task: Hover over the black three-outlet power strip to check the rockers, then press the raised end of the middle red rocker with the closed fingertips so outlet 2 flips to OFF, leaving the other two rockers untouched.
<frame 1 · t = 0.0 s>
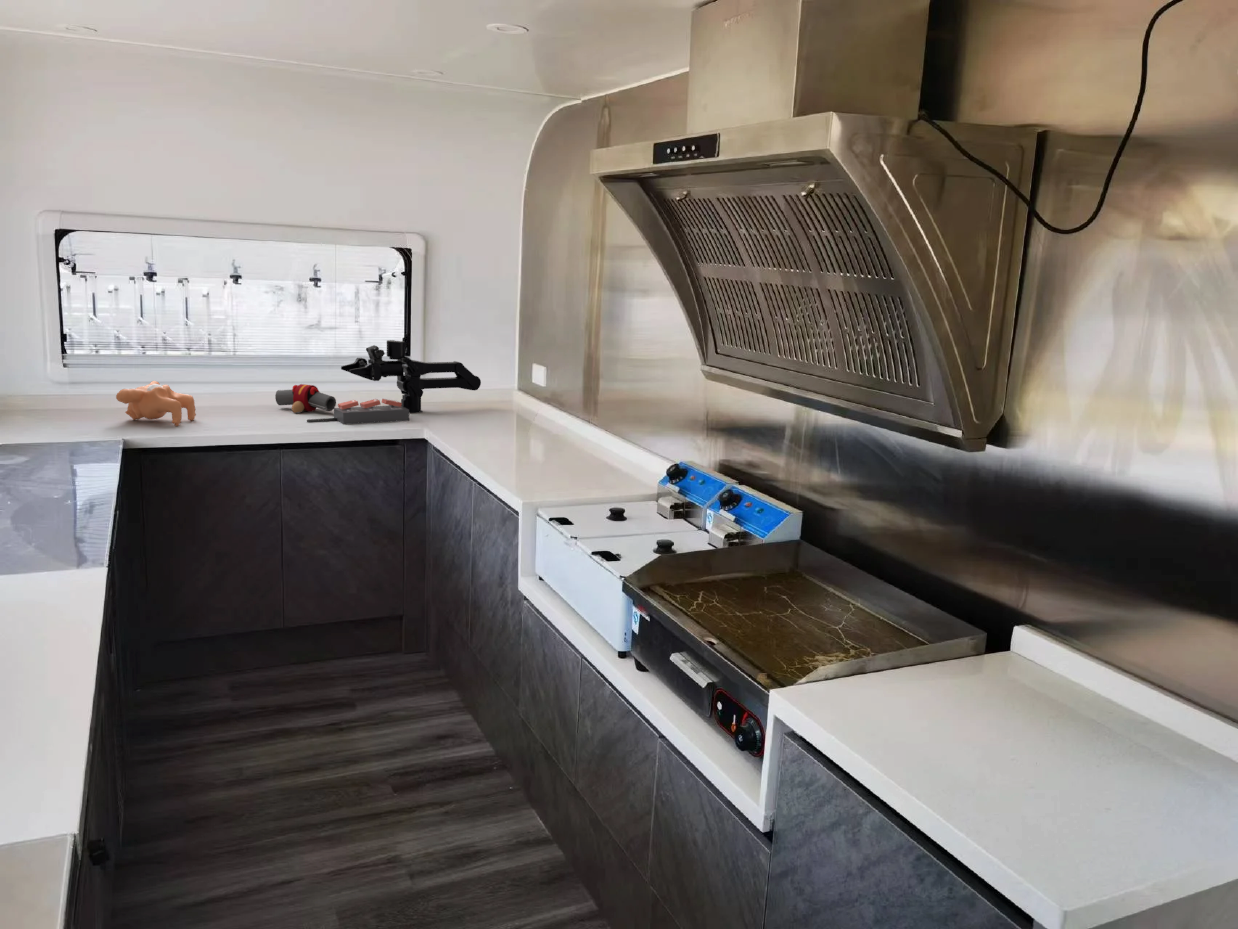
hand: (345, 369, 347), 17 cm above the countertop, tool horizontal, fingers open, 9 cm apart
figurine: (158, 422, 320), on the countertop
toy: (306, 411, 354), on the countertop
rocker 3: (348, 404, 340), point 6 cm above the countertop, hinge at 12.0°
rocker 2: (370, 403, 344), point 6 cm above the countertop, hinge at 12.0°
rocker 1: (391, 402, 349), point 6 cm above the countertop, hinge at -12.0°
power strip: (371, 419, 344), on the countertop
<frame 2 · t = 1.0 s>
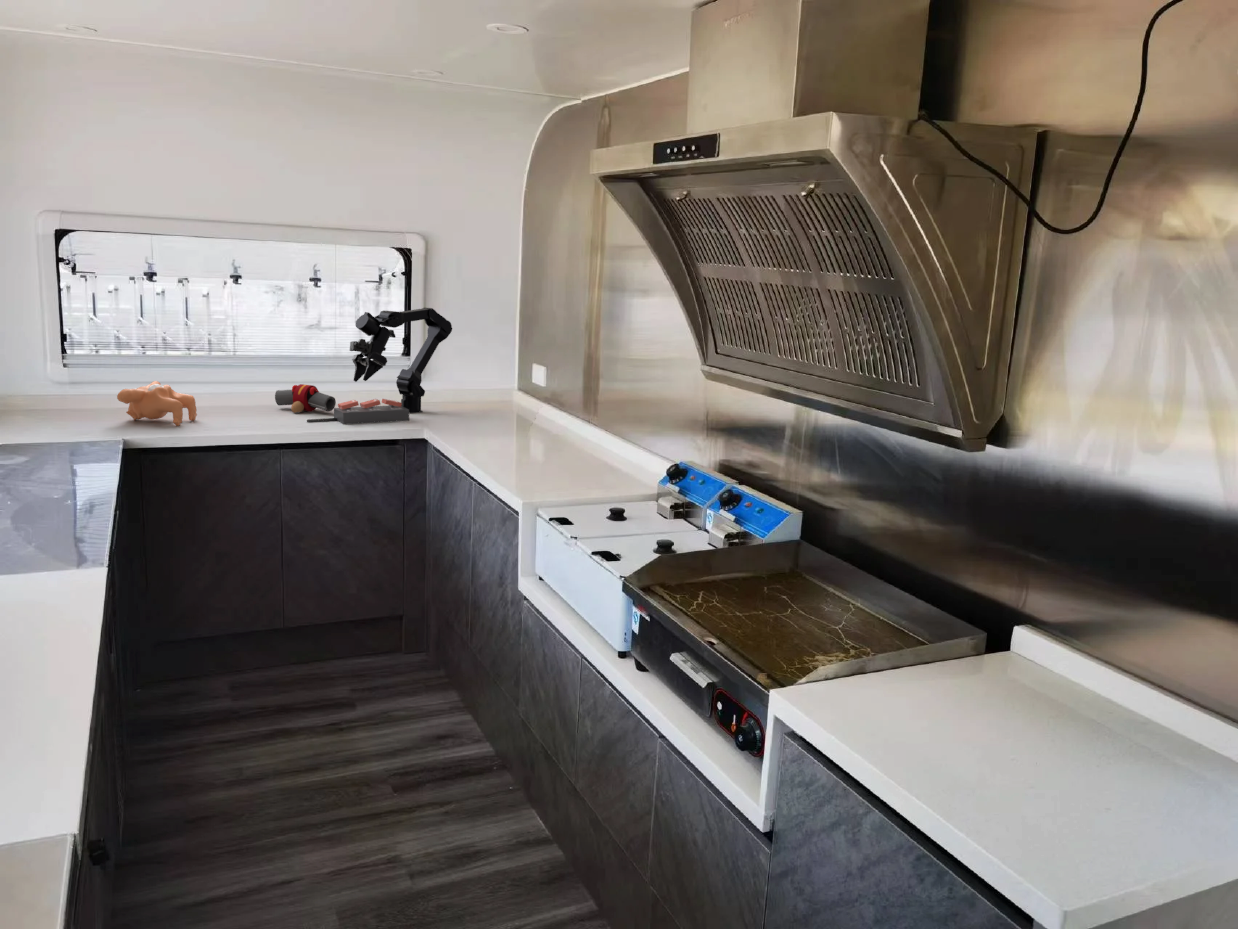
hand: (359, 380, 343), 13 cm above the countertop, tool tilted 30°, fingers open, 9 cm apart
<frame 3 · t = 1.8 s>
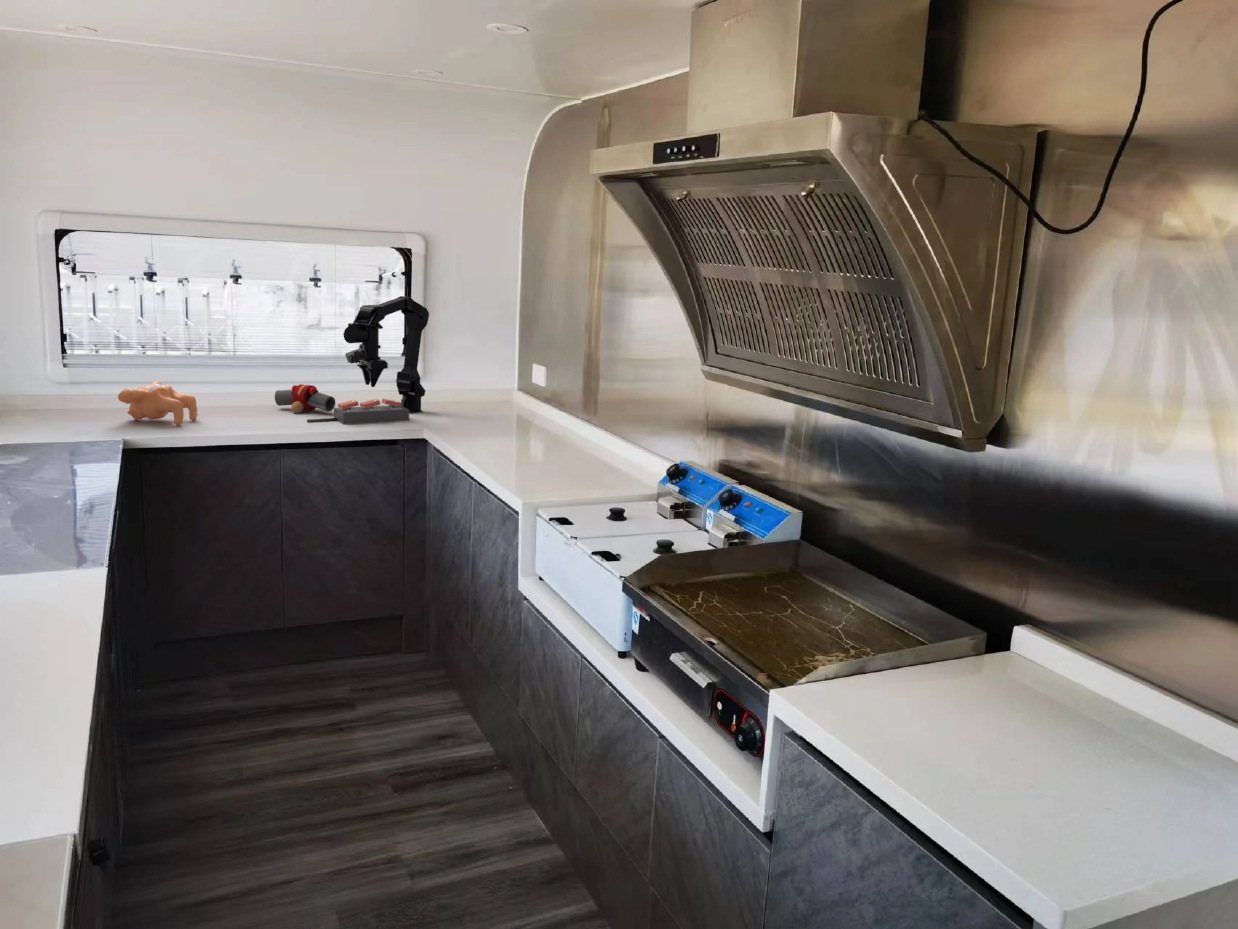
hand: (370, 385, 343), 12 cm above the countertop, tool pointing down, fingers open, 5 cm apart
nothing on the countertop moved.
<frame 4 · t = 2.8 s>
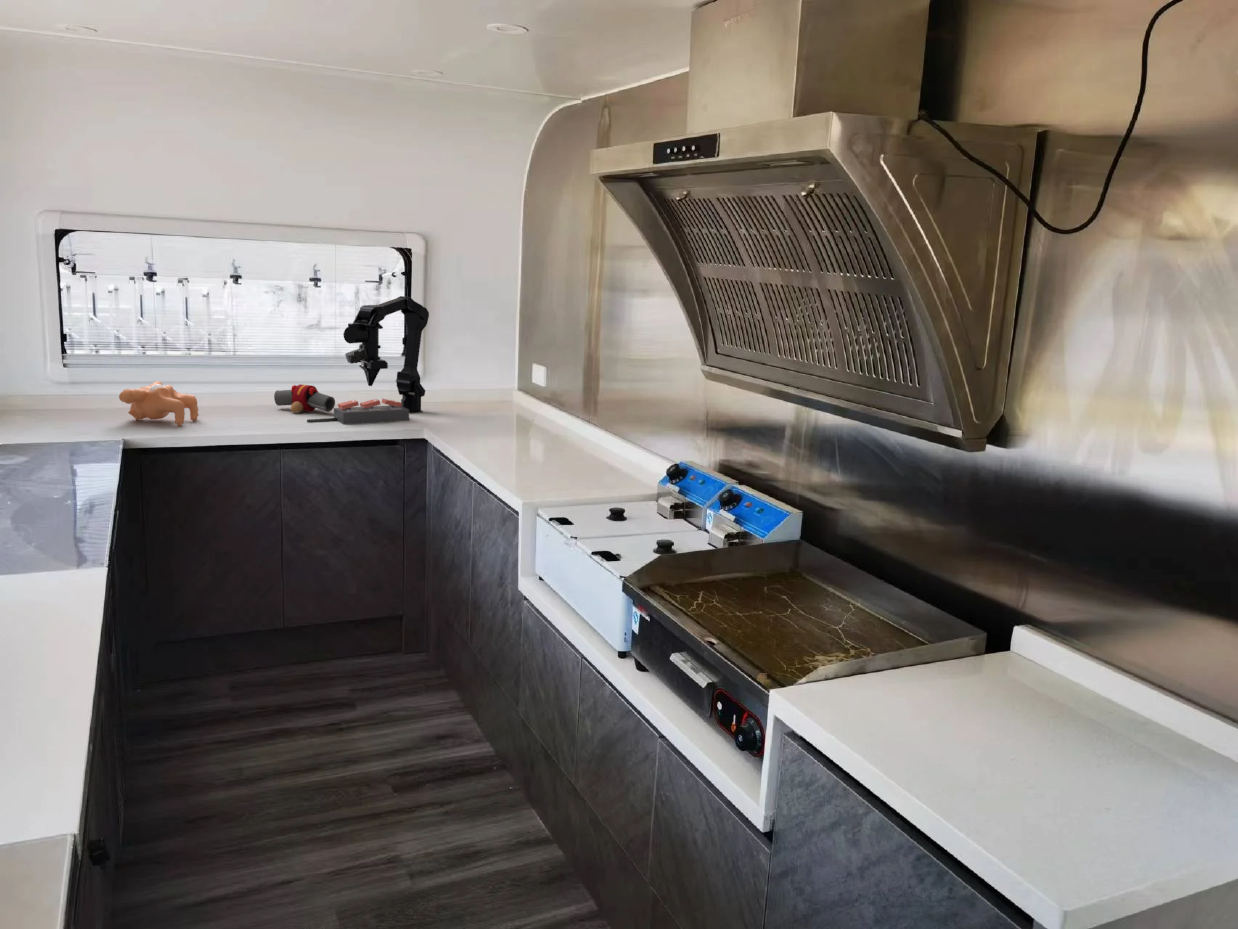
hand: (370, 385, 343), 12 cm above the countertop, tool pointing down, fingers closed
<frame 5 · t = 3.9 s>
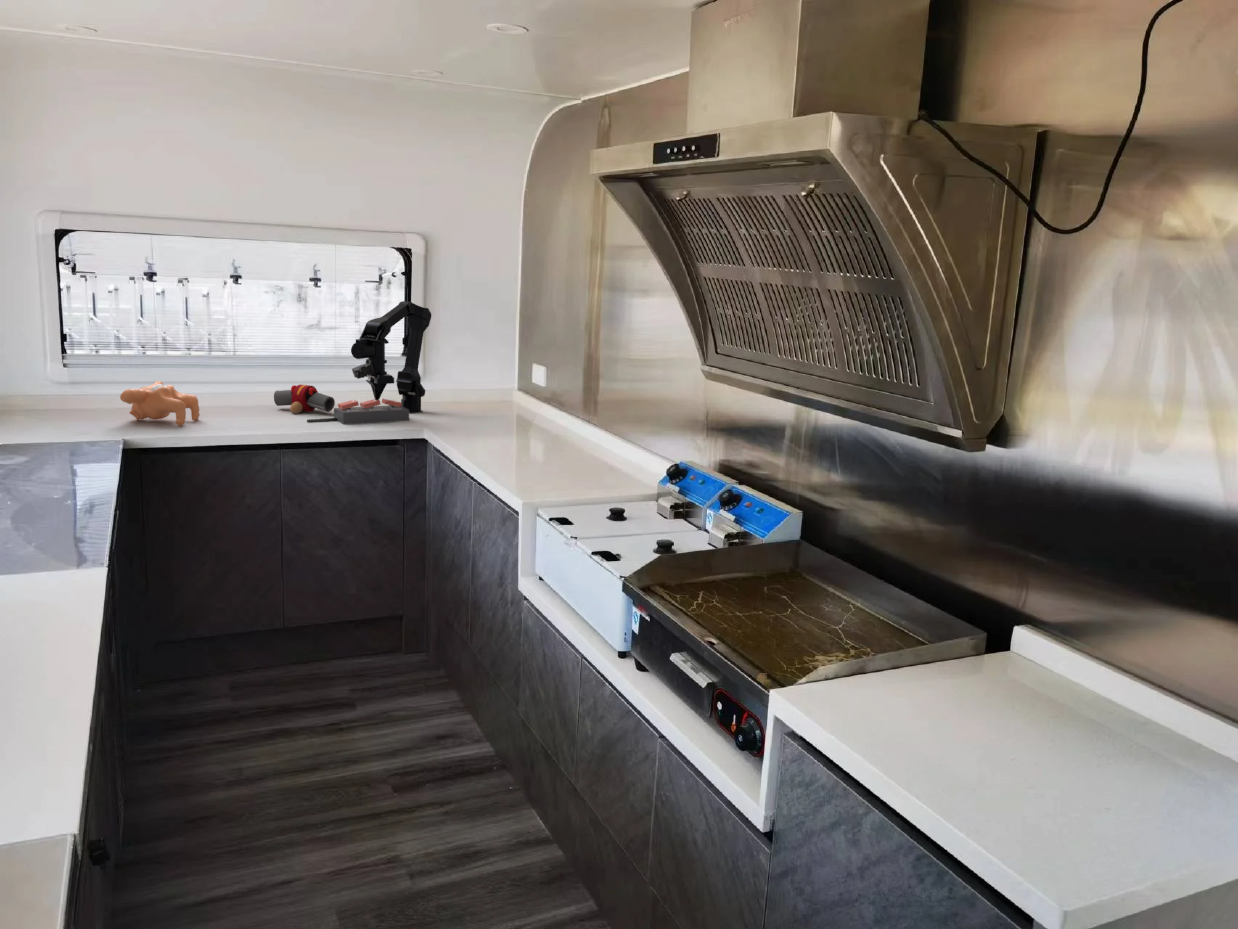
hand: (376, 400, 345), 7 cm above the countertop, tool pointing down, fingers closed, pressing on rocker 2
rocker 2: (370, 403, 344), point 6 cm above the countertop, hinge at 11.7°, touching gripper
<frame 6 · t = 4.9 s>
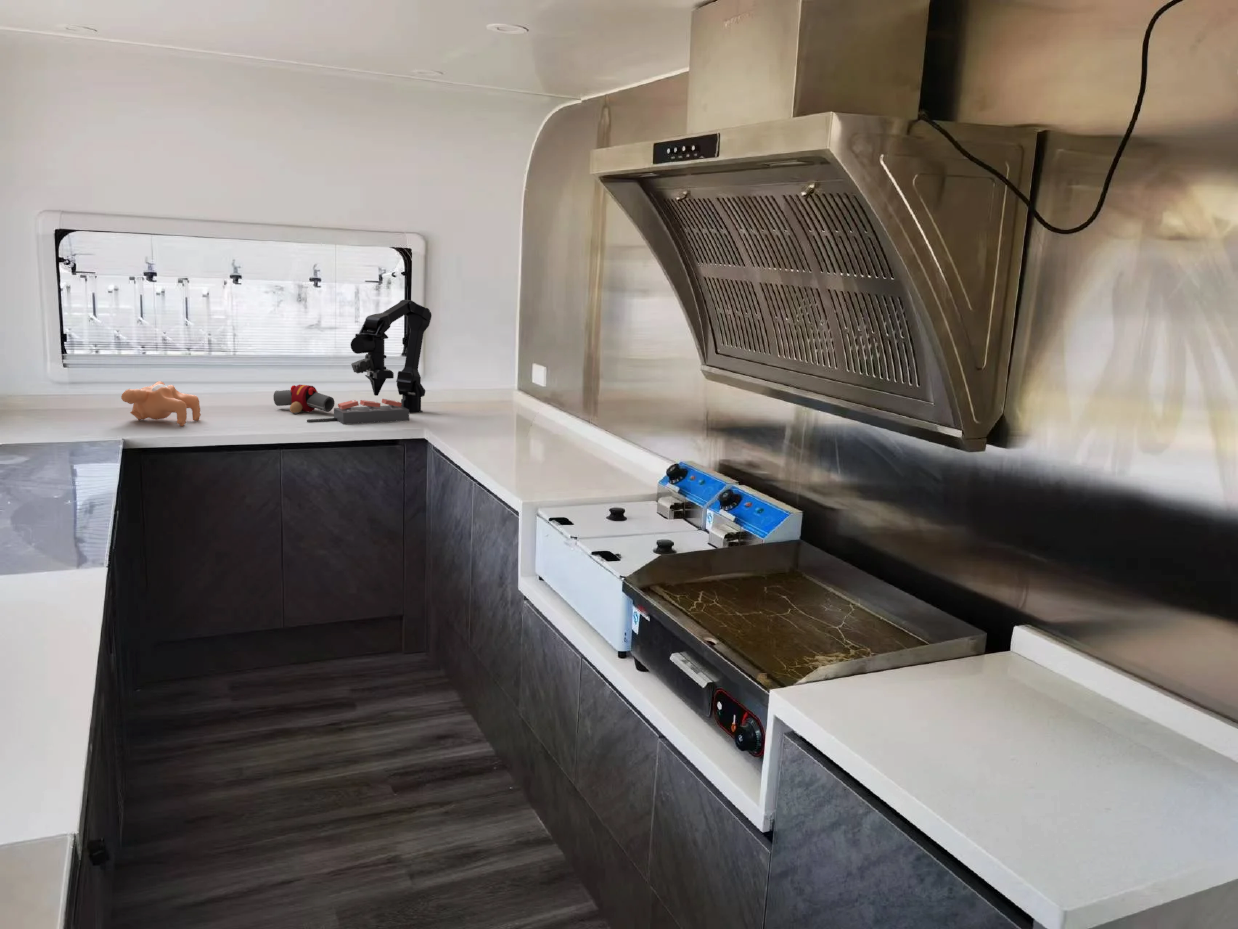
hand: (376, 395, 345), 8 cm above the countertop, tool pointing down, fingers closed
rocker 2: (370, 403, 344), point 6 cm above the countertop, hinge at -8.1°
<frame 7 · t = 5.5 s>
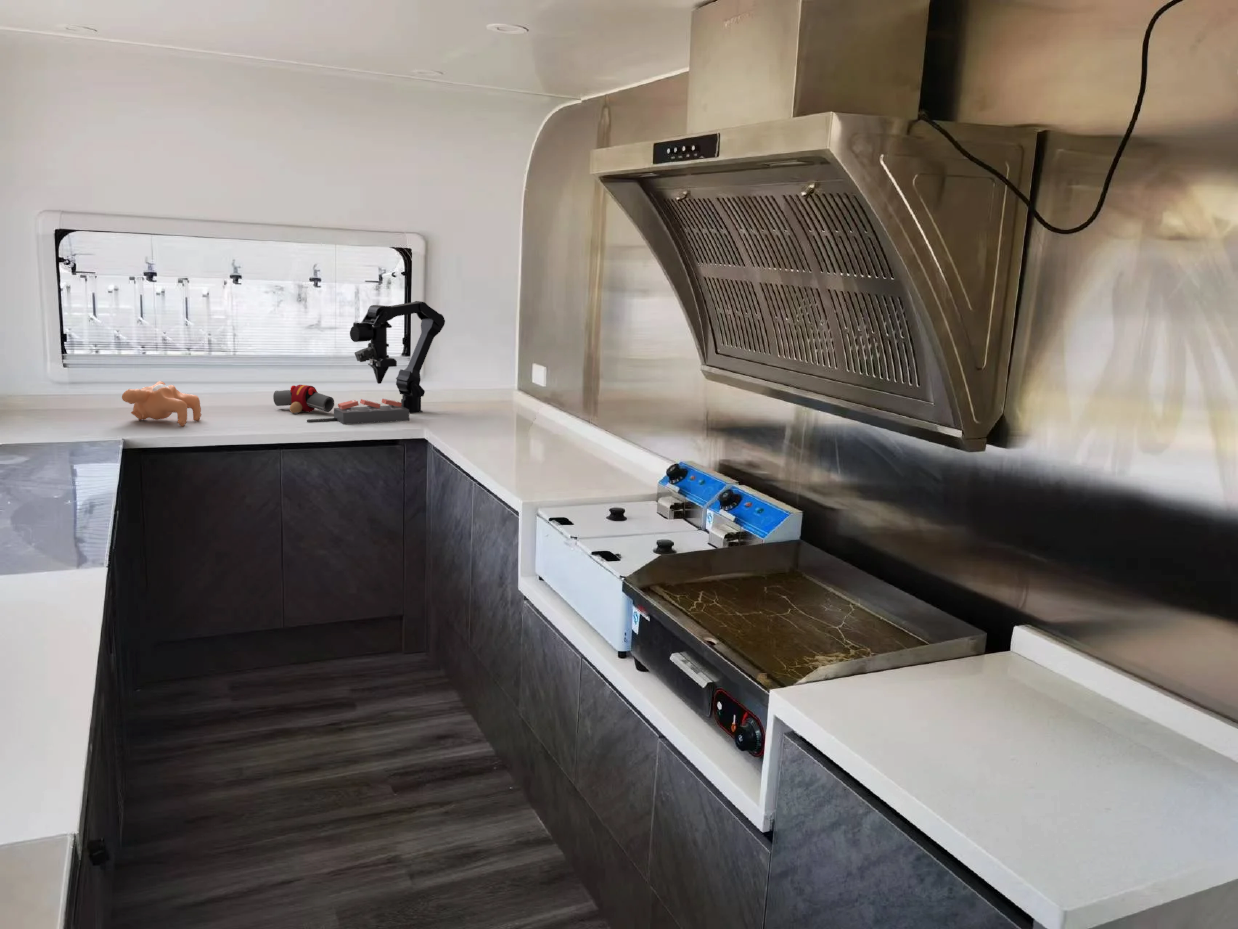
hand: (379, 383, 351), 12 cm above the countertop, tool pointing down, fingers closed
rocker 2: (370, 403, 344), point 6 cm above the countertop, hinge at -15.1°
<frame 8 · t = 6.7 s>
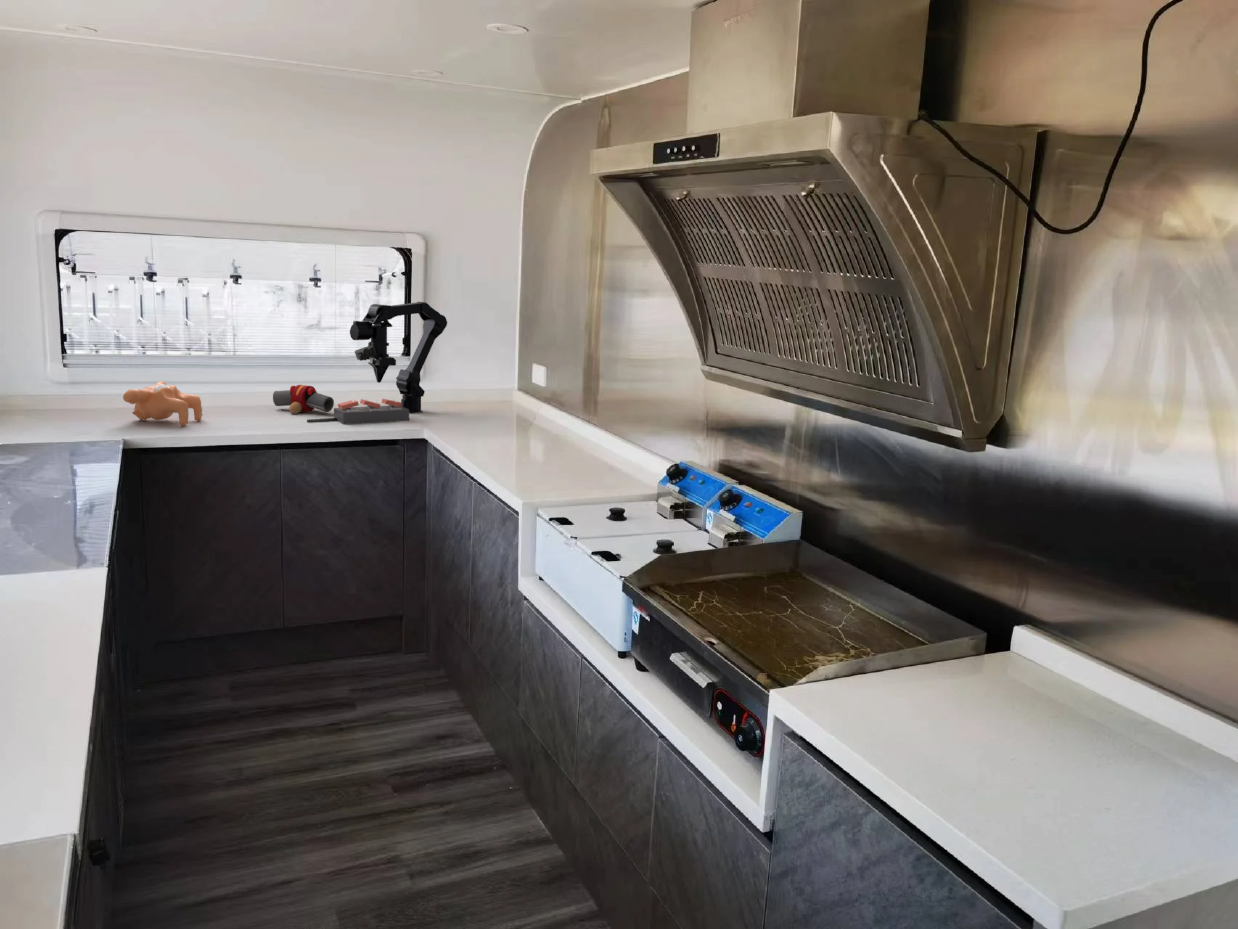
hand: (378, 382, 352), 12 cm above the countertop, tool pointing down, fingers closed
rocker 2: (370, 403, 344), point 6 cm above the countertop, hinge at -15.7°
at the end: rocker 2 at -15° (first picture: +12°); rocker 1 at -12° (first picture: -12°); rocker 3 at +12° (first picture: +12°) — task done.
